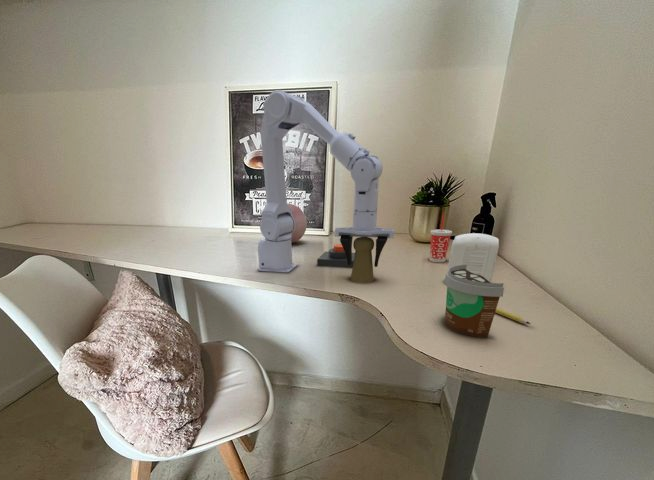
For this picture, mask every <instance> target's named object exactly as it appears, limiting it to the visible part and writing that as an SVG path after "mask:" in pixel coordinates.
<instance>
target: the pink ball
mask: <svg viewBox="0 0 654 480" xmlns="http://www.w3.org/2000/svg"><path fill="white" fill-rule="evenodd" d="M287 204H288V205H289V206H290V208H291V210H292V216H293V218H294V220H295V229H294V231H293V232H292V237H291V244H295V243H296V242H298V241H299V240H301V239H302V238H303V236H305V233H306V230H307V226H308V223H307V222H308V221H307V217H306V214H305V213H304V211H303V210H302V209H301V208H300V207H299V206H297V205H295V204H293V203H287Z"/></svg>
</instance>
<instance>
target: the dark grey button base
mask: <svg viewBox="0 0 654 480" xmlns="http://www.w3.org/2000/svg"><path fill="white" fill-rule="evenodd" d="M354 256H355V252H352V263H351V265H348V264H347V258H346V254H345V252H335V251H334V247H333V248H329V249H328V251H324V252H323V253H322V254H321V255H320V256H319V257H318V258H317V259H316V266H317V267H329V268H330V267H331V268H347V269H348V268H349V269H352V268H353V262H354Z"/></svg>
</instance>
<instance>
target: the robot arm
mask: <svg viewBox="0 0 654 480" xmlns="http://www.w3.org/2000/svg"><path fill="white" fill-rule="evenodd" d="M262 105H263V117H262V121H261V126H260V144H261V145H260V146H261V155H262V164H263V165H262V166H263V167H262V168H263V177H264V188H265V199H266V204H265V206H264V207H263V209H262V210H261V220H260V224H259V230H260V233H261V235H262V236H263V238H260V239H259V241H258V244H257V255H258V256H257V257H258V271H259V272H260V271H261V272H272V273H286V274H287V273H290V272H291V271H292V270H294V269H295V268H296V267H297V266H298V264H297V263H293V249H292V247H293V246H292V244H293V243H291V237H292V232H293V231H294V229H295V220H294V218H293V216H292V210H291V208H290V206H289V205H288V204H289V203H288V202H287V190H286V174H285V161H284V159H285V158H284V145H283V144H284V143H283V139H285V136H286V135H287V134H288V133H289V132H290V131H291V130H293V129H295V128H296V127H298V126H300V125H301V124H304V125H305V126H307V127H308V128H309V129H310V130H311V131H312V132H313V133H315V134H316V135H317V136H318V137H319V138H321V140H323V141H324V142H325V143H327V144H328V146H329V153H330V154H331V156H332V157H333V158H334V159H335V160H337V162H339V164H341V165H342V166H343V167H344V168H345V169H346V170H347V171H348V172H350V173H349V174H350V177H351V179H352V180H353V182H354V184H353V185H354V186H353V210H352V212H353V213H352V227H348V226H347V227H336V228H334V237H340V239H339V242H340V244H342V246H343V249H344V251H345V254H346V258H347V264H348V265H351V263H352V253H353V249H352V248H353V237H354V238H358V237H369V238H376V239H375V257H374V263H373V265H374V266H373V268H374V267H375V268H378V266H379V260H380V257H381V255H382V251H383V249H384V247H385V245H386V243H387V241H388V239H394V238H395V228H385V227H383V228H382V227H377V217H378V203H379V202H378V201H379V181H380V180H379V179H380V177H381V176H382V174H383V164H382V161H381V159H379V157H378V156H376V155H370V153H371V150H370V149H368V148H367V147H365V148H364V147H363V146H362V144H360V143H359V142H357V140H356V135H354V134H353V133H351V132H350V133H348V132H347V131H343V132H338V131H337V130H336V129H335V127H333V126H332V125H331V124H330V122H329V121H327V120H326V118H325V117H323V115H322V114H321V113H320V112H319V111H318V110H317V109H316V108H315V107H314V106H313V105H312V104H311V103H309V102H308V101H306V100H305V99H304V98H303V97H301V96H299V95H293V94H291V93H288V92H285V91H283V90H281V89H275V90H273V91H272V92H270V94H268V96H267V98H266V99H265V100H264V102H263V104H262Z"/></svg>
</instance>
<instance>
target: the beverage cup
mask: <svg viewBox="0 0 654 480" xmlns="http://www.w3.org/2000/svg"><path fill="white" fill-rule="evenodd" d="M444 222H445V213H442V216H441V223H440V229H431V230H430V244H429V245H430V247H429V261H430V262H432V263H444V262H446V259H447V254H448V251H449V246H450V240H451V237H452V236H451V235H452V234H453V231H452V230H450V229H444Z"/></svg>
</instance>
